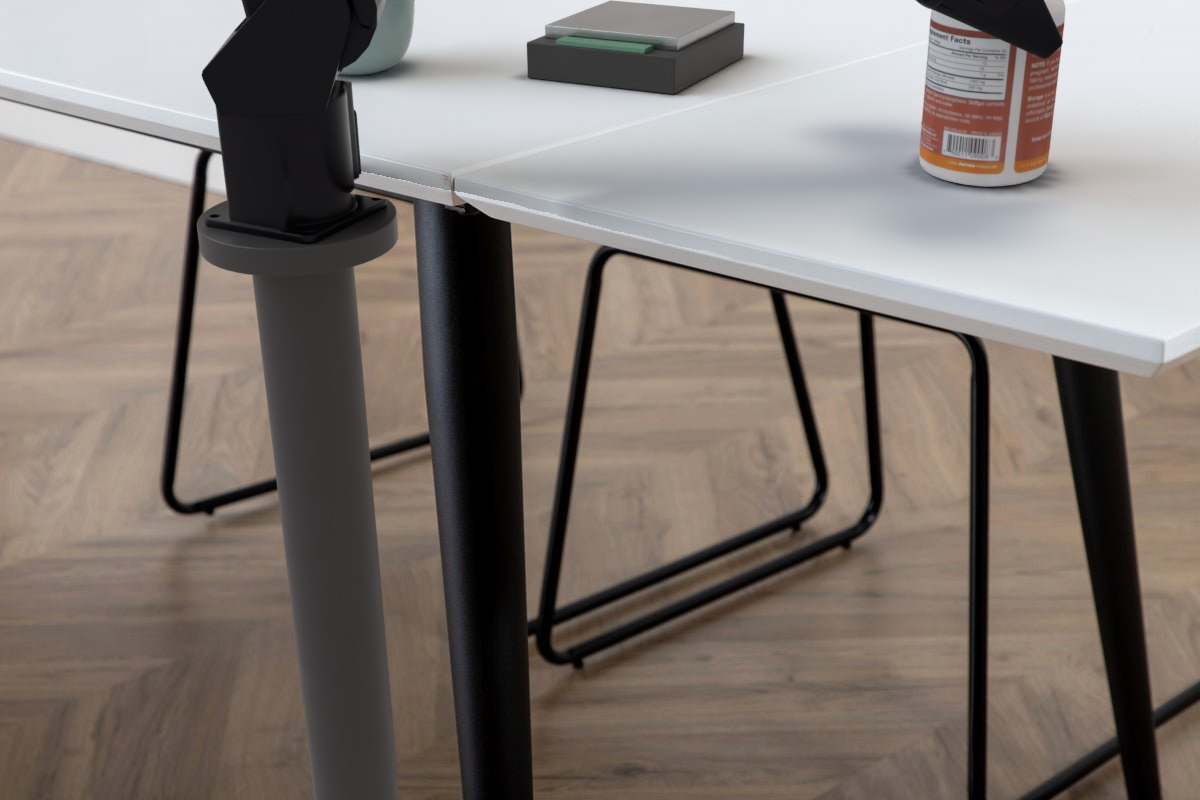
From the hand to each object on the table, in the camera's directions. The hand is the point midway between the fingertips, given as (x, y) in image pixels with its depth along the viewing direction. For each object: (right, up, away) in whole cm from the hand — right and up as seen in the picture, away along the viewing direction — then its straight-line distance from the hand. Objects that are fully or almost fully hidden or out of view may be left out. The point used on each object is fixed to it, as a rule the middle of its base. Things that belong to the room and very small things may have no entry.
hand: (1021, 29), depth 69 cm
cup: (-35, +3, +24) cm, 43 cm away
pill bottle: (-1, -6, +3) cm, 7 cm away
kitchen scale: (-18, +4, +24) cm, 30 cm away
